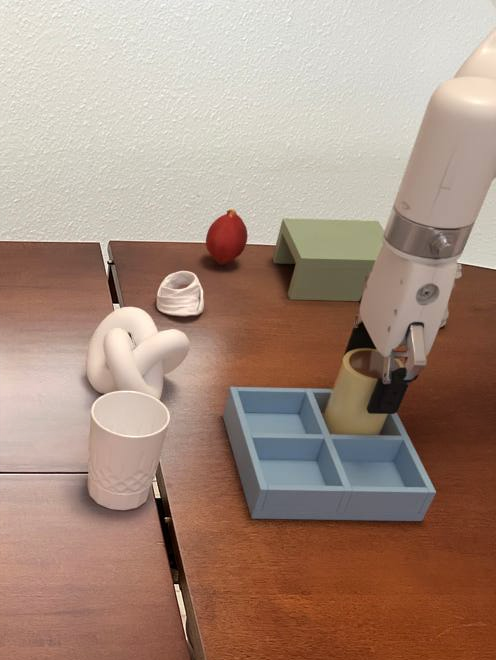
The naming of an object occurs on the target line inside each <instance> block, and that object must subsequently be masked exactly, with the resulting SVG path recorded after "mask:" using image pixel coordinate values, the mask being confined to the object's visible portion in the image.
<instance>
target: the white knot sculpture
mask: <svg viewBox="0 0 496 660" xmlns="http://www.w3.org/2000/svg"><path fill="white" fill-rule="evenodd" d="M131 336H132V337H131ZM132 339H133V340H132ZM133 341H134V343H133ZM189 351H190V340H189V338H188V337H187V335H186V333H185V332H183V331H181V330H179V329H177V328H170V329H169V328H168V329H165V330H160V331H159V330H158V328H157V325H156V323H155V321H154V319H153V318H152V316H151V315H150V314H149V313H148V312H147V311H145V310H144V309H142V308H140V307H135V306H123V307H120V308H117V309H115V310H113V311H111V313H109V314H108V315H107V316H106V317H104V318H103V320H102V321H100V323H99V325H98V326H97V328H96V329H95V331H94V333H93V334H92V336H91V339H90V342H89V344H88V347H87V351H86V355H85V371H86V372H85V373H86V376H87V380H88V381H89V383H90V385H91V386H92V388H93V389H94V390H95V391H96V392H98V393H100V394H103V395H105V394H107V393H111V392H115V391H136V392H141V393H145V394H148V395H150V396H152V397H154V398H156V399H158V400H159V401H161V397H162V394H163V387H164V376H166V375H168V374H170V373H171V372H173V371H174V370H176V369H177V368H178V367H179V366H180V365H182V363H183V362H184V360H185V359H186V357H187V356H188V353H189Z"/></svg>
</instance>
